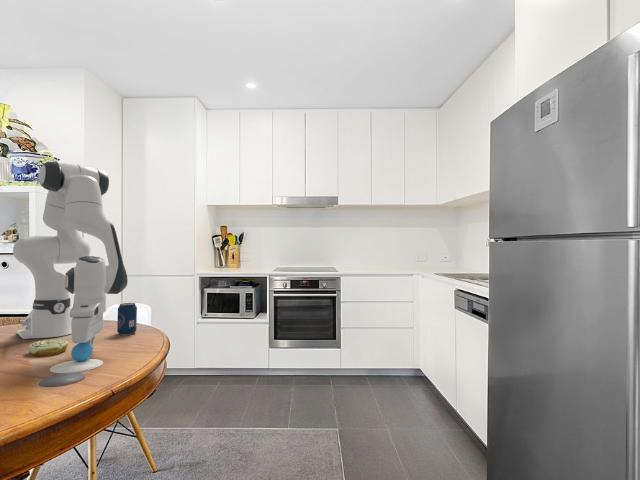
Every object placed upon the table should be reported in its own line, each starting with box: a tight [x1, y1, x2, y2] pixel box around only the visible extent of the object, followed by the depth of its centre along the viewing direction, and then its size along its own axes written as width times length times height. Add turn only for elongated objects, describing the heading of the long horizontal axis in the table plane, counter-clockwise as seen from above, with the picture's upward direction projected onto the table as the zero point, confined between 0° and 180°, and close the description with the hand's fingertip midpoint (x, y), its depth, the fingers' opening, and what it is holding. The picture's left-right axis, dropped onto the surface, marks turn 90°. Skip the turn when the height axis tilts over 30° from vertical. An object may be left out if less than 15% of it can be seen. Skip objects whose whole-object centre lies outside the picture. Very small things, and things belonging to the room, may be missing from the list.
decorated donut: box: [28, 338, 69, 357], centre depth 123 cm, size 10×11×4 cm
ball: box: [70, 343, 94, 361], centre depth 114 cm, size 6×6×6 cm
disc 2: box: [49, 358, 104, 374], centre depth 109 cm, size 13×13×1 cm
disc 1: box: [38, 372, 86, 388], centre depth 97 cm, size 10×10×1 cm
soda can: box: [116, 302, 138, 336], centre depth 152 cm, size 7×7×12 cm
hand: (88, 350), depth 119 cm, fingers closed
